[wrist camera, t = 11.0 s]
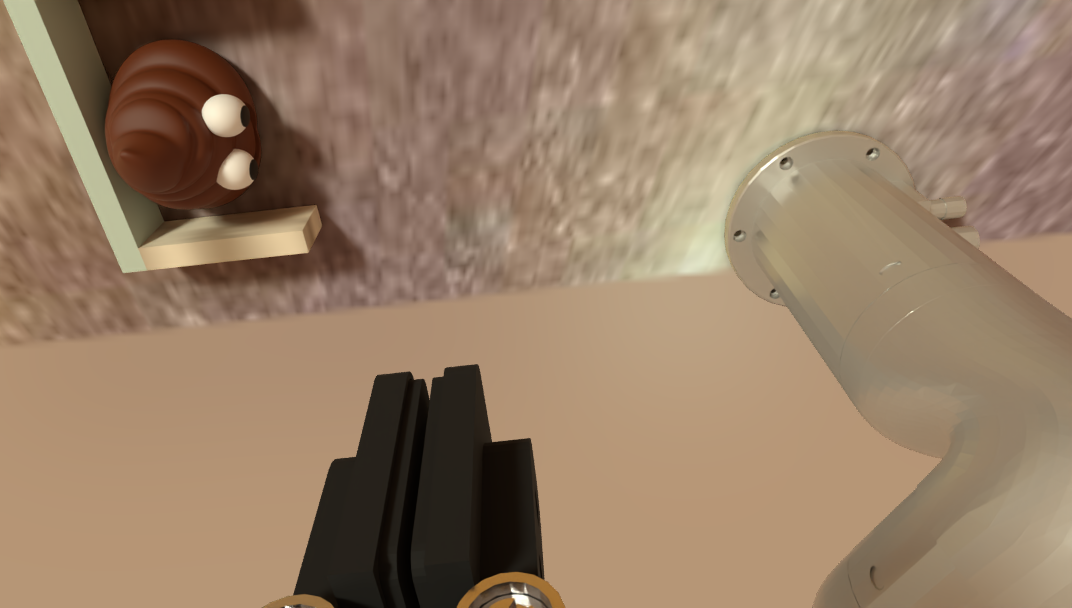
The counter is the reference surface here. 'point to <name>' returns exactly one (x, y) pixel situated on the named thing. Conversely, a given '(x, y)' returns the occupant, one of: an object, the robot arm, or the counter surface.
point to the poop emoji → (182, 126)
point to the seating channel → (126, 215)
